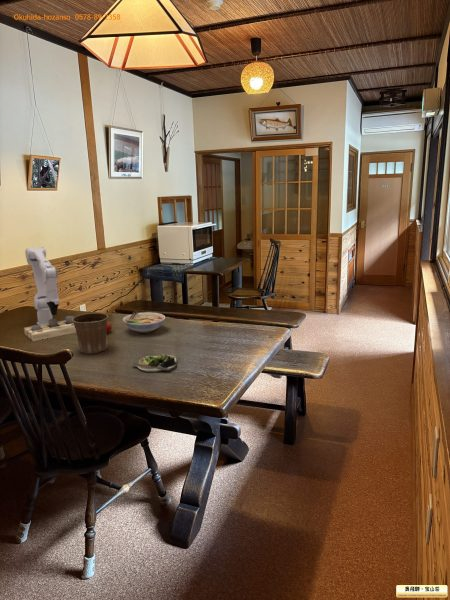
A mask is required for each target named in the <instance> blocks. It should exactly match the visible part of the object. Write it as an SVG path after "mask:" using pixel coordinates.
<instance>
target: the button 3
mask: <svg viewBox="0 0 450 600" xmlns="http://www.w3.org/2000/svg"><path fill="white" fill-rule="evenodd" d="M74 317H75V315H68V316H65V320H66V324H67V325H68V324H73V323H74V322H73V321H72V319H73V318H74Z"/></svg>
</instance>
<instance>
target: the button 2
mask: <svg viewBox="0 0 450 600" xmlns="http://www.w3.org/2000/svg"><path fill="white" fill-rule="evenodd" d="M58 322H59V320H58V319H57V318H53V319H50V320H49V327H50V328H52V327H57V326H58Z"/></svg>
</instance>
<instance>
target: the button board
mask: <svg viewBox="0 0 450 600" xmlns="http://www.w3.org/2000/svg"><path fill="white" fill-rule="evenodd" d="M40 326H41V330H36V331H32V328H31V326H27V327H24V328H23V333H24V335H25V336H26V337H27V338H29V339H30V340H31V341H32V342H37V341H43V340H46V339H47V338H48V339H51V338H57V337H61V336H66V335H72V334H77V333H76V329H75V327H74V323H73V324H68V325H67V324H66V319H65V320H58V326H57V327H52V328H50V327H49V323H48V324H43V325H40ZM42 339H43V340H42Z"/></svg>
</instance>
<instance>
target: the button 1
mask: <svg viewBox="0 0 450 600" xmlns="http://www.w3.org/2000/svg"><path fill="white" fill-rule="evenodd" d="M30 327H31V328H32V331H36V330H41V326H40V325H38V324H34V325H33V324H32V325H31V326H30Z"/></svg>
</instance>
